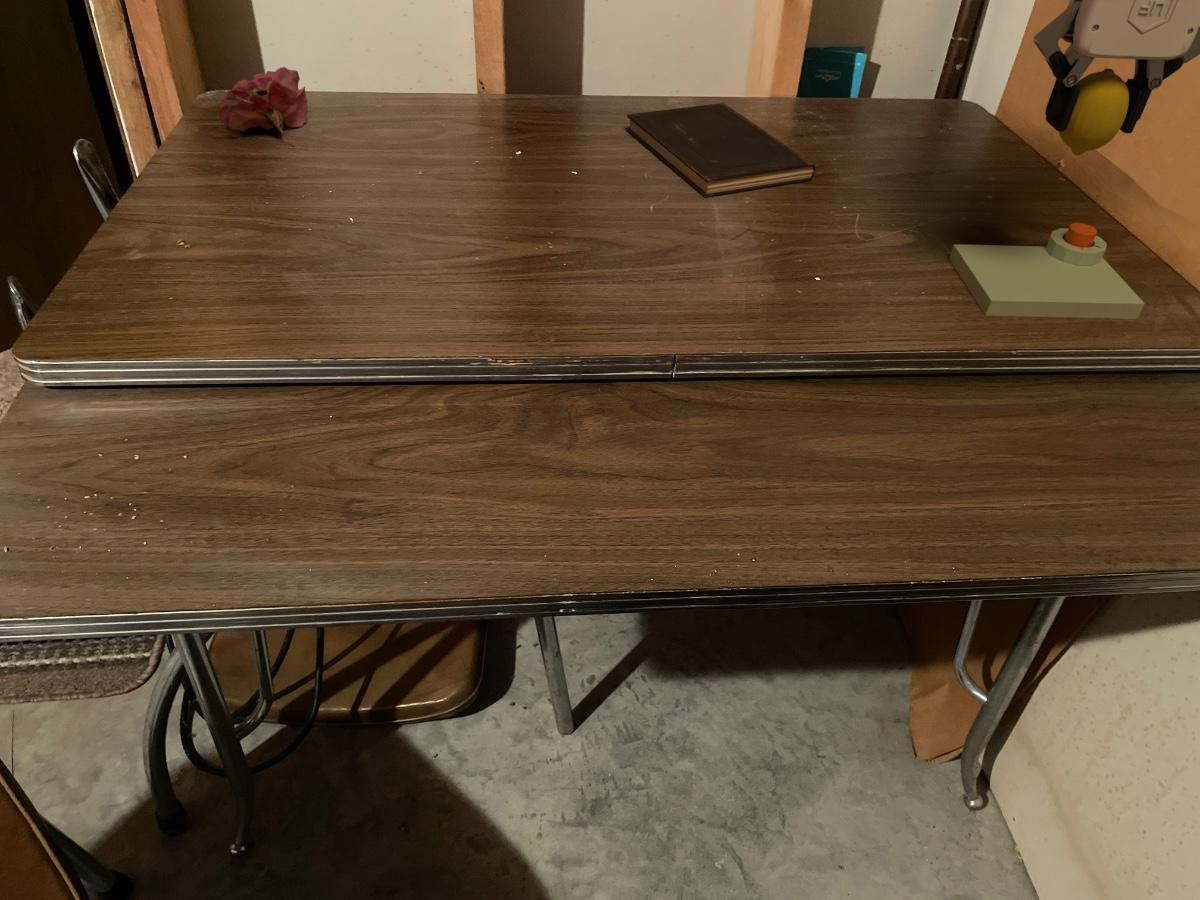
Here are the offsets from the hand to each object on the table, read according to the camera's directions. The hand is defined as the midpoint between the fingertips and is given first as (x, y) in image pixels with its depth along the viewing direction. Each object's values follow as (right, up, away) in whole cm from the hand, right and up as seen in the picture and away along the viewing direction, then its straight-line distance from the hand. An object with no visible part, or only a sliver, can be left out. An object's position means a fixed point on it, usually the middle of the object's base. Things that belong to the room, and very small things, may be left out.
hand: (1088, 125), depth 86 cm
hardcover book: (-30, +9, +38) cm, 49 cm away
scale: (+2, -13, +13) cm, 18 cm away
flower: (-90, +12, +37) cm, 98 cm away
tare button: (+7, -8, +15) cm, 18 cm away
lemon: (0, -2, +2) cm, 3 cm away
